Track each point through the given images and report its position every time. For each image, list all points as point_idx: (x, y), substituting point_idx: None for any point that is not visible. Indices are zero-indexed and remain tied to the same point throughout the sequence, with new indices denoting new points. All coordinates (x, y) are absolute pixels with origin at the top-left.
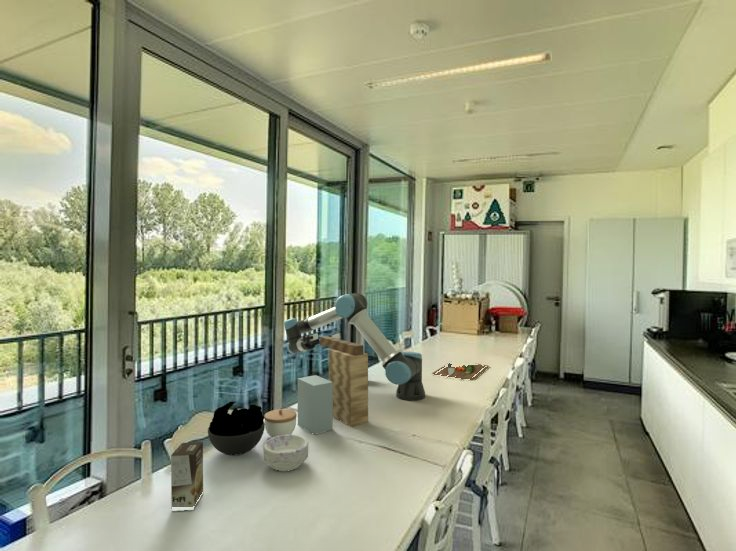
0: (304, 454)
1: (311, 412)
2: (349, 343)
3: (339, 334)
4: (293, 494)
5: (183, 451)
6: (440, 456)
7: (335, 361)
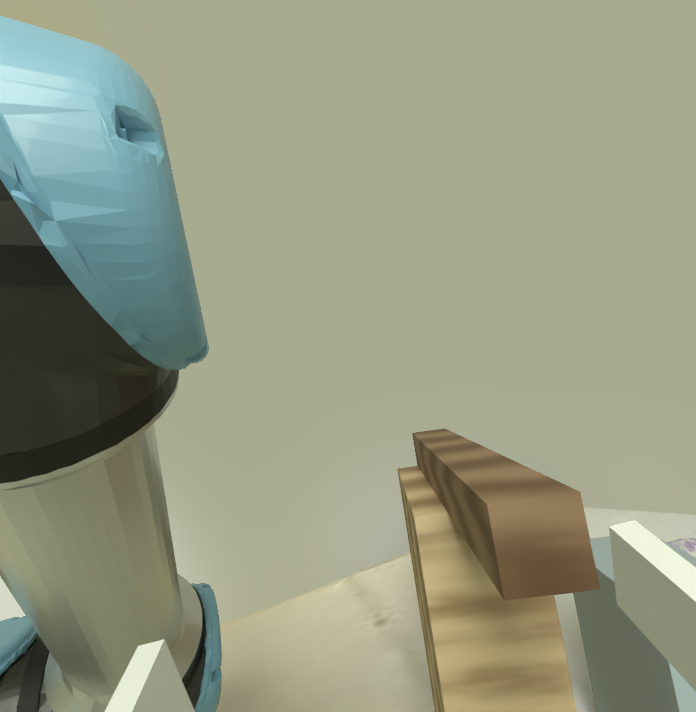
0: None
1: None
2: (442, 437)
3: (160, 663)
4: None
5: None
6: (403, 566)
7: None
